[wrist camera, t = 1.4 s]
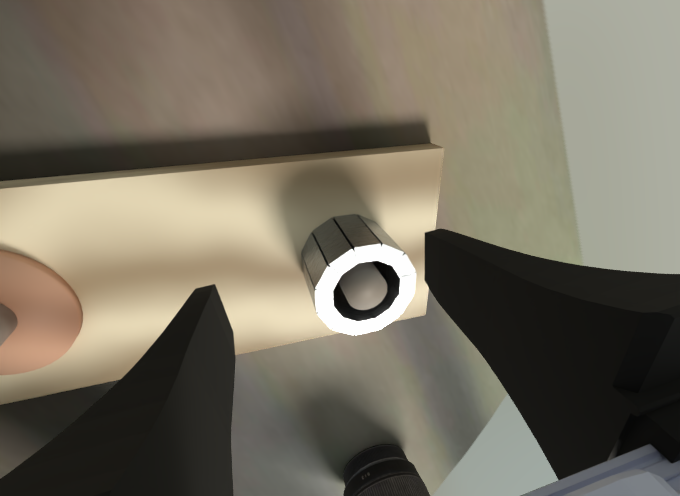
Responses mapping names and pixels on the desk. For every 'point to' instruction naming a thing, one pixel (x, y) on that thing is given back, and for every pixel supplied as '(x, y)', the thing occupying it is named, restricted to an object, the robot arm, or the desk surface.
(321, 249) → the collar
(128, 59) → the desk surface
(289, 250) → the stand board
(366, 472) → the camera lens
